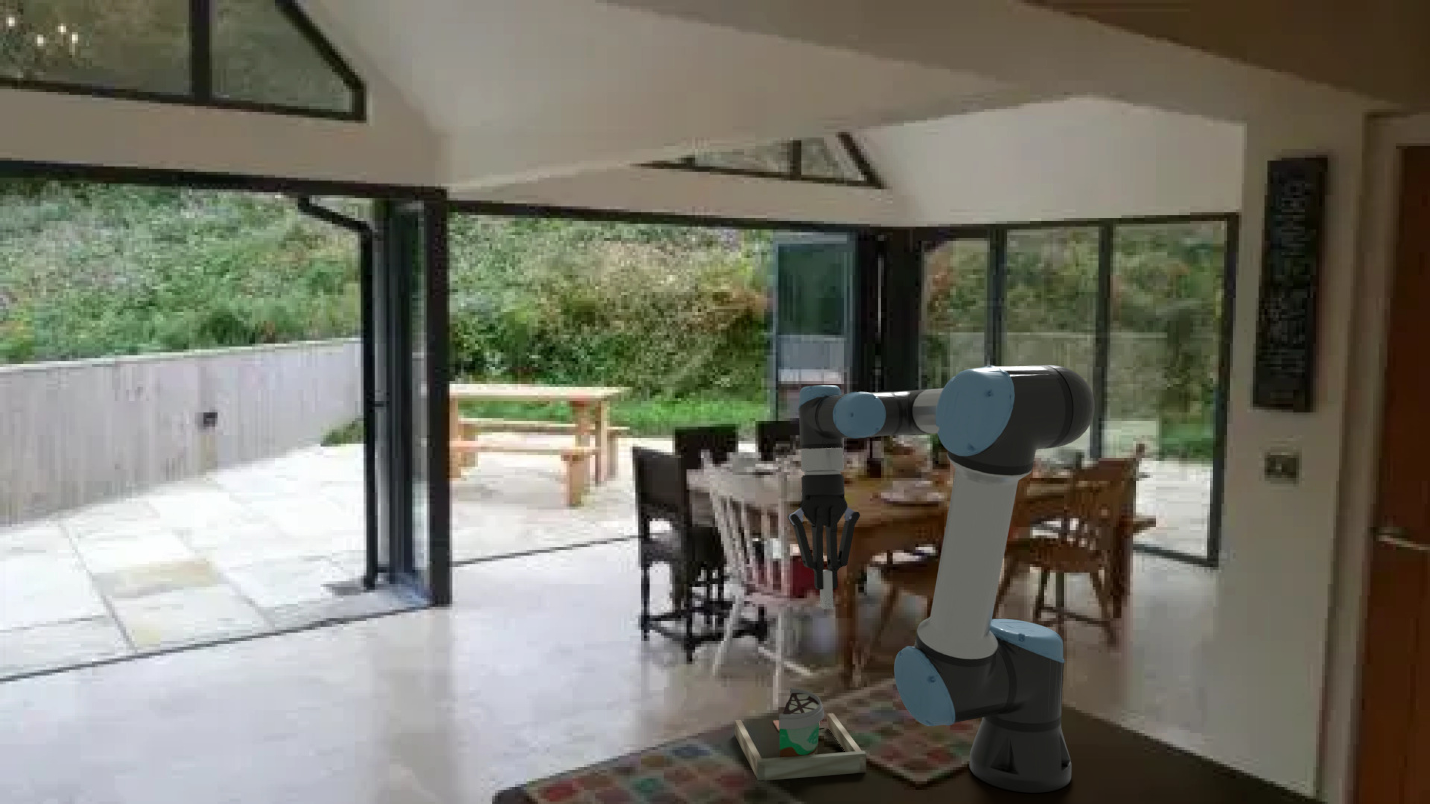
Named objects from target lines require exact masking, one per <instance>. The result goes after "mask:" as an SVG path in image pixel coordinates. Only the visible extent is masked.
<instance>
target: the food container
mask: <svg viewBox="0 0 1430 804" xmlns="http://www.w3.org/2000/svg"><path fill="white" fill-rule="evenodd" d="M823 705H824V704H823V703H822V701H821V698H820V696H818V695H816V694H815V693H813V692H811V691H808V690H804V689H801V688H800V689H799V688H794V687H790V695H789V698H788V700H787V702H786V704H785V705H784V706H785V707H784V709H783V712H782V713H779V717H778V720H779V731H778V732H779V733H778V734H779V757H797V756H804V755H817V754H818V749H819V748H818V746H819V735H820V734H819V733H820V728H819V725H820V721H821V722H822V720H824V718H825V709H824V706H823Z"/></svg>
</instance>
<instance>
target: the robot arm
mask: <svg viewBox="0 0 1430 804" xmlns="http://www.w3.org/2000/svg"><path fill="white" fill-rule="evenodd" d="M798 394H799V396H798V397H799V398H798V399H799V401H798V402H799V403H798V407H797V408H798V418H799V420H798V421H799V422H798V423H799V443H800V467H801V468H800V469H801V470H800V471H802V472H803V473H804V475H802V476H801V479H800V480H801V482H800V483H801V500H800V504H799V508H798V509H797V510H796V511H794V512H793V513H789V514H788V515H787V520H788V521H789V523H790V524H791V525H792V527H793V531H794V534H795V538H796V542H797V545H798V549H799V552H800V557H801V559H802V565H803V566H804V567H805V568H809V569H811V570H813V572H814V573H813V574H814V576H813V577H814V579H813V580H814V587H815V589H816V590H819V598H820V599H819V601H820V602H819V603H820V605H819V606H820V608H822V609H824V610H831V609H832V610H833V609H834V589H837V588H838V583H839V582H838V580H839V579H838V571H839V570H840V568H841V569H842V568H843V567H846V566H847V565H848V563H849V557H850V553H851V548H852V547H851V546H852V541H853V538H854V537H853V536H854V533H855V527H856V525H857V522H858V521H859V519H860V518H861V514H860V512H859V511H855V510H853V509H852V508H850V507H848V505H849V504H848V502H847V501H846V498H845V496H846V495H845V476H844V475H843V474H842V473H841V472H842V471H843V470H845V467H844V466H845V465H844V443H843V442H844V441H843V440H844V439H859V438H860V439H863V438H864V439H865V438H870V437H871V438H872V437H881V436H882V437H885V436H896V435H897V436H898V435H899V436H900V435H901V436H902V435H925V434H926V435H928V434H929V435H930V434H937V437H938V439H939V441H940V443H941V445H943V447H944V448H945V450H947V453H946V457H947V459H948V460H949V462H950V463H951V464H952V466H953V467H954V468H955V471H954V477H953V482H952V488H951V489H952V490H951V494H950V500H949V507H948V512H947V517H946V518H947V519H946V525H945V530H944V535H943V542H942V547H941V552H940V559H939V563H938V564H939V565H938V571H937V577H936V583H935V587H934V594H933V599H932V605H931V610H930V616H929V617H927V618H925V619H924V620H922V621H921V622H919V624H918V626H917V629H916V630H917V631H916V635H915V640H914V645H913V646H912V645H911V646H909V645H906V646H905V647H904V648H902V650H899V651H898V653H897V654H896V656H895V659H894V663H893V664H894V665H893V667H894V668H893V669H894V671H893V673H894V680H895V681H894V682H895V685H896V688H897V691H898V693H899V696H900V699H901V702H902V704H903V706H904V707H905V709H906V710H907V711H908V713H909V714H910V715H911V717H912V718H914V720H916V721H917V722H919V723H920V724H922V725H924V726H927V727H937V726H944V725H945V726H952V725H954V724H956V723H960V722H965V721H970V720H975V719H981V718H982V719H981V722H980V725H979V727H978V730H977V731H976V732H977V733H976V735H975V737H974V739H973V743H972V746H971V748H970V751H969V769H970V771H971V772H972V774H973V775H974V776H975V777H976V778H978V779H979V780H980V781H982V782H984V783H987V784H989V785H991V786H994V787H996V788H1000V789H1003V790H1007V791H1012V792H1019V793H1033V794H1034V793H1035V794H1036V793H1037V794H1039V793H1048V792H1054V791H1057V790H1061V789H1063V788H1064V787H1066V786H1067V785H1068V784H1069V783H1070V782H1071V779H1072V762H1071V761H1072V760H1071V757H1070V753H1069V750H1068V748H1067V747H1068V746H1067V744H1066V741H1065V737H1064V734H1063V730H1062V703H1063V702H1062V701H1063V687H1064V686H1063V685H1064V668H1065V667H1064V664H1065V662H1066V661H1065V659H1064V641H1063V638H1062V637H1061V636H1060V634H1058V632H1056V631H1055V630H1053V629H1051V628H1049V627H1046V626H1044V625H1041V624H1039V623H1038V624H1037V623H1034V622H1029V621H1024V620H1019V619H1012V618H1011V619H1010V618H1009V619H1008V618H993V615H994V610H995V603H996V599H997V594H998V593H997V592H998V587H999V583H1000V578H1001V572H1002V569H1003V568H1002V567H1003V563H1004V557H1005V552H1006V547H1007V541H1008V536H1009V530H1010V526H1011V521H1012V515H1013V510H1014V505H1015V499H1016V495H1017V489H1018V483H1019V481H1020V480H1021V479H1023V478H1025V477H1026V476H1028V475H1030V474H1031V473H1032V471H1033V467H1034V466H1033V465H1034V461H1035V458H1036V457H1035V456H1036V452H1037V450H1045V449H1054V448H1060V447H1065V446H1066V445H1068V444H1071V443H1074V442H1075V441H1076V440H1078V439H1079V438H1081V437H1082V436H1083V435H1084V434H1085V433H1086V431H1087V430H1088V429H1089V427H1090V426H1091V424H1092V421H1093V418H1094V416H1095V410H1096V408H1095V403H1096V402H1095V399H1094V398H1095V397H1094V395H1093V391H1092V389H1091V388H1090V385H1089V384H1088V382H1087V381H1086V380H1085V379H1084V378H1083V377H1082V376H1081V375H1080V374H1079V373H1077V372H1075V370H1072V369H1070V368H1067V367H1065V366H1061V365H1053V364H1041V365H1040V364H1039V365H1017V366H1014V365H1013V366H1011V365H1010V366H996V365H985V366H980V367H975V368H968V369H965V370H961V371H960V372H958V373H957V374H956V375H954V376H953V377H952V378H950V379H949V380H948V381H947V382H946V384H945V386H944V387H943V388H931V389H919V390H902V391H901V390H900V391H879V392H878V391H877V392H875V391H874V392H867V391H858V392H857V391H852V392H849V393H845V394H842V390H841V388H840V387H839V386H838V385H831V384H830V385H828V384H826V385H825V384H824V385H822V384H821V385H812V386H811V385H810V386H808V385H807V386H803V387H802V388H801V389H800V391H799V393H798ZM803 516H804V517H805V518H806V520H807V521H808V523H809V524H810V527H811V528H810V529H811V532H812V534H811V536H812V538H811V539H812V541H811V542H812V551H811V548H810V544H809V540H808V537H807V533H806V530H805V525H804V524H803V522H804V521H805V520H804V519H805V518H804V517H803ZM843 516H844V517H843ZM842 517H843V518H844V523H843V527H842V532H841V537H840V543H839V548H838V523H839V522H840V520H841V519H842ZM824 531H825V539H826V566H827V569H824V568H825V567H824V566H825V565H824V563H825V561H824V560H825V559H824Z"/></svg>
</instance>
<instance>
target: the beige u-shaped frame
mask: <svg viewBox="0 0 1430 804" xmlns="http://www.w3.org/2000/svg"><path fill="white" fill-rule="evenodd" d="M826 719H827V721H826V724H827V725H828V727H829V728H830V730H831V731H832V733H833V734H834V735H835V736H836V738H837V739H838V741H839V742H840V744H841V745H842V747H843V749H844V750H843V749H842V750H843V751H842V752H831V753H820V754H818V753H817V755H804V756H797V757H780V756H778V757H767V758H762V756H761V755H760V753H759V751H758V749H757V748H756V745H755V744H754V742H753V740H752V738H751V736H750V734H749V732H748V730H747V728H746V727H745V725H744V723H743V721H742V720H741V719H736V720H734V735H735V738H736V740H737V741H738V744H739V745H740V748H741V750H742V752H743V754H744V756H745V757H746V759H747V761H748V763H749V766H750V768H751V769H752V771H753V773H754V775H755V777H756V779H757V781H758V780H764V781H773V780H775V781H776V780H785V779H797V778H810V777H811V778H812V777H823V776H836V775H847V774H850V775H851V774H858V773H859V774H861V773H866V772H867V753H866V751H865V750H861V748H860V746H859V745H858V744H857V743H856V742H855V740H854V738H852V736H851V734H850V733H849V732H848V731H847V729H846V728H845V727H844V725H842V723H841V722H840V720H839V719H838V717H837V716H836V715H835V713H833V712H831V713H827V717H826ZM844 751H845V752H844Z"/></svg>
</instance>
